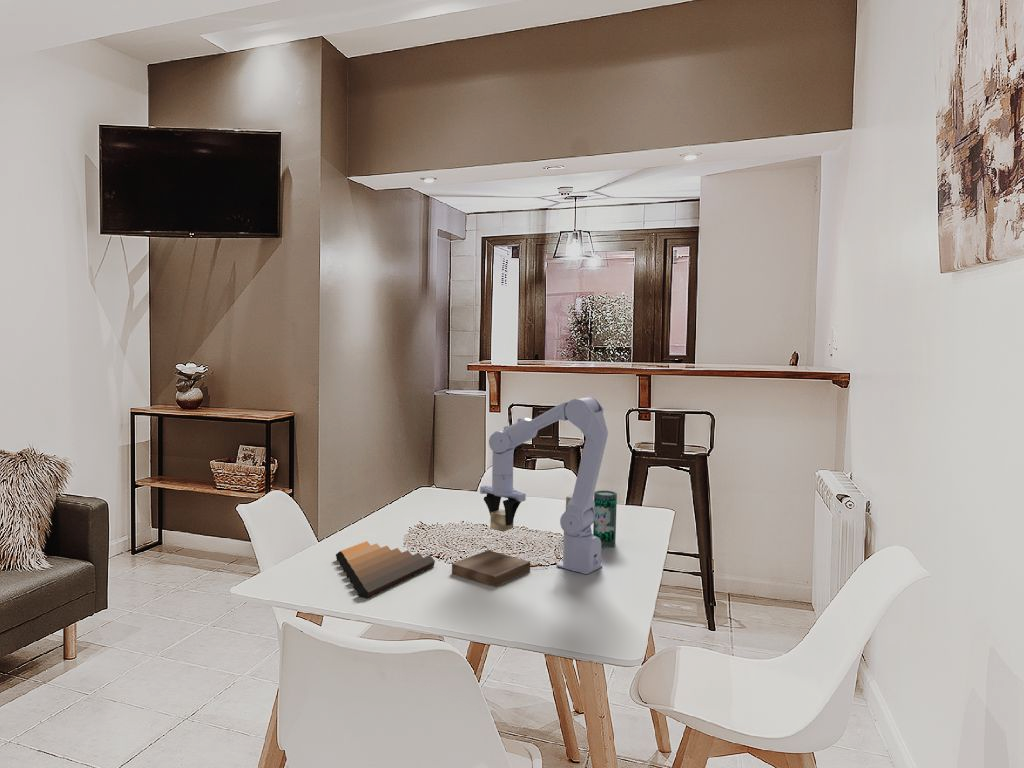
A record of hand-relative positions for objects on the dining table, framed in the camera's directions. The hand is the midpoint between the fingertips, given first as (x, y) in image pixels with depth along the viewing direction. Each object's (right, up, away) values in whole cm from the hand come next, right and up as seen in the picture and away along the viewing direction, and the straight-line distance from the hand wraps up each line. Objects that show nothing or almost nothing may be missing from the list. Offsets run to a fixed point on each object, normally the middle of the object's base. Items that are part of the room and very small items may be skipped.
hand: (502, 523), depth 183 cm
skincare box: (+22, -8, +16) cm, 28 cm away
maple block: (0, -2, 0) cm, 2 cm away
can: (+29, -8, +9) cm, 32 cm away
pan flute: (-34, -10, -17) cm, 39 cm away
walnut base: (-2, -9, -15) cm, 18 cm away
